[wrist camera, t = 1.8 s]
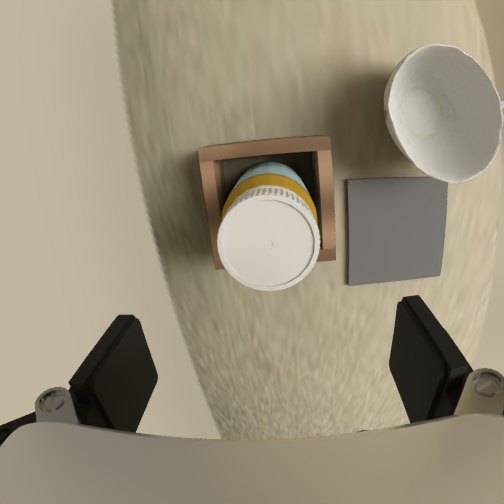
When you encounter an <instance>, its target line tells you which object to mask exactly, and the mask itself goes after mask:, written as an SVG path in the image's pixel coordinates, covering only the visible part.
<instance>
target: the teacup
mask: <svg viewBox="0 0 504 504" xmlns="http://www.w3.org/2000/svg"><path fill="white" fill-rule="evenodd" d="M502 109H504V99H500V97H499V95H498V92H497V90H496V88H495V86H494V85H493V83H492V79H491V78H490V77H489V76H488V75H487V73H486V72H485V71H484V70H483V69H482V68H481V66H480V65H479V63H478V62H477V61H476V60H475V59H474V58H473V57H472V56H470V55H468V54H467V53H464V51H463V50H461V49H460V48H457V47H455V46H451V45H446V44H428V45H424V46H421V47H419V48H417V49H415V50H414V51H412V52H411V53H409V54H408V55H407V56H406V57H404V58H403V59H402V60H401V61H400V63H399V64H398V65H397V66H396V67H395V69H394V70H393V72H392V74H391V76H390V78H389V80H388V82H387V84H386V88H385V92H384V100H383V110H384V117H385V121H386V125H387V128H388V130H389V133H390V135H391V137H392V139H393V141H394V142H395V144H396V146H397V147H398V148H399V150H400V151H401V152H402V153H403V154H404V156H405V157H406V158H407V159H408V160H409V161H410V162H411V163H413V164H414V165H415V166H416V167H417V168H418V169H419V170H420V171H422V172H423V173H424V174H426V175H428V176H430V177H432V178H434V179H437V180H440V181H444V182H448V183H461V182H465V181H468V180H470V179H472V178H475V177H477V176H478V175H480V174H481V173H482V172H484V171H485V170H486V169H487V168H488V166H489V165H490V164H491V163H492V162H493V160H494V159H495V156H496V154H497V152H498V149H499V146H500V144H501V130H502V127H503V111H502Z"/></svg>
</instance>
